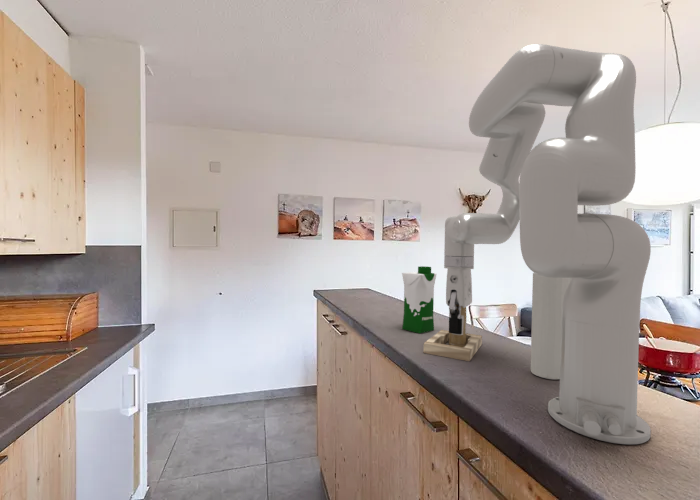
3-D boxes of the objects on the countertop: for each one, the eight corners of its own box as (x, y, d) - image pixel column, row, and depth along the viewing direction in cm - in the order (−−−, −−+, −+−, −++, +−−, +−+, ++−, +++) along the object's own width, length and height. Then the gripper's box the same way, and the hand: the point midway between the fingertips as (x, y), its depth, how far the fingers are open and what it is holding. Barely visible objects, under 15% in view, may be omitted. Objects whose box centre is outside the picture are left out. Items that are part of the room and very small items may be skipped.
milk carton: (420, 334, 100) (421, 267, 100) (397, 328, 107) (398, 266, 107) (438, 330, 106) (439, 266, 106) (415, 324, 113) (416, 265, 113)
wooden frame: (469, 361, 78) (469, 351, 78) (423, 352, 84) (423, 343, 84) (481, 344, 92) (482, 335, 92) (441, 338, 97) (441, 329, 97)
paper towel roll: (529, 376, 69) (532, 272, 69) (531, 367, 75) (533, 270, 74) (571, 384, 66) (574, 274, 65) (570, 374, 71) (572, 272, 71)
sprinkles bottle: (469, 345, 90) (470, 295, 90) (461, 349, 87) (461, 296, 87) (453, 342, 93) (454, 293, 93) (445, 345, 90) (446, 294, 90)
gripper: (466, 264, 81) (465, 341, 81) (479, 262, 95) (478, 327, 95) (435, 263, 85) (434, 336, 85) (452, 261, 99) (451, 323, 99)
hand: (457, 330), depth 90 cm, fingers open, 4 cm apart
